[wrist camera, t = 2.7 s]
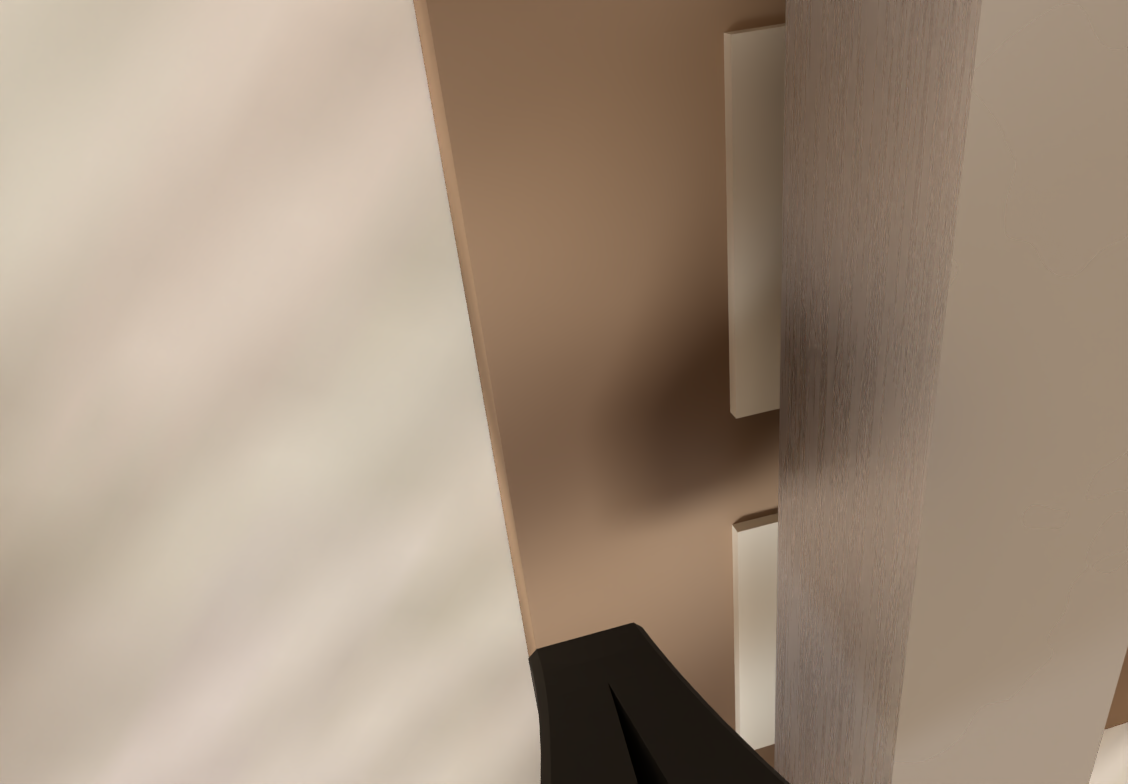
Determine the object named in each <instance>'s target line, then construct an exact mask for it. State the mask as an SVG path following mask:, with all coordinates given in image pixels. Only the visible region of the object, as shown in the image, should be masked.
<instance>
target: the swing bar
mask: <svg viewBox="0 0 1128 784" xmlns="http://www.w3.org/2000/svg"><path fill="white" fill-rule="evenodd" d="M1127 648H1128V0H786V23H785V89H784V155H783V221H782V287H781V353H780V420H779V486H778V552H777V618H776V684H775V750H774V769H775V770H776V771H777V772H778V773H779V774H780V775H781V776H782V777H783V778H785V779H786V780H787V781H788V782H789V783H790V784H1089V781H1090V777H1091V774H1092V770H1093V767H1094V763H1095V760H1096V756H1097V753H1098V749H1099V746H1100V742H1101V739H1102V735H1103V732H1104V728H1105V725H1106V721H1107V718H1108V714H1109V711H1110V707H1111V704H1112V700H1113V697H1114V693H1115V690H1116V686H1117V683H1118V679H1119V676H1120V672H1121V669H1122V665H1123V662H1124V658H1125V655H1126V651H1127Z"/></svg>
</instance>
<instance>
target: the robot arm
mask: <svg viewBox="0 0 1128 784" xmlns="http://www.w3.org/2000/svg"><path fill="white" fill-rule="evenodd" d="M528 659H529V665H530V670H531V675H532V681H533V686H534V691H535V697H536V702H537V708H538V713H539V723H540V743H541V784H790V783H789V782H788V781H787V780H786V779H785V778H783V777H782V776H781V775H780V774H779V773H778V772H777V771H776V770H775V769H774V768H773V767H772V766H771V765H769V764H768V763H767V762H766V761H765V760H764V759H763V758H762V757H761V756H760V755H759V754H758V753H757V752H756V751H755V750H754V749H753V748H752V747H751V746H750V745H749V744H748V743H747V742H746V741H745V740H744V739H743V738H742V737H741V736H740V735H739V734H738V733H737V732H736V731H735V730H734V729H732V728H731V727H730V726H729V725H728V724H727V723H726V722H725V721H724V720H723V719H722V718H721V717H720V715H719V714H718V713H717V712H716V711H715V710H714V709H713V708H712V707H711V706H710V705H709V704H708V703H707V702H706V701H705V700H704V699H703V698H702V697H701V695H700V694H699V693H698V692H697V691H696V690H695V689H694V688H693V687H692V686H691V685H690V683H689V682H688V681H687V680H686V679H685V678H684V677H683V676H682V675H681V673H680V672H679V671H678V670H677V669H676V668H675V667H674V666H673V664H672V663H671V662H670V661H669V660H668V658H667V657H666V656H665V655H664V654H663V653H662V651H661V650H660V649H659V648H658V646H657V645H656V644H655V643H654V641H653V640H652V639H651V638H650V636H649V635H648V634H647V633H646V631H645V630H644V629H643V627H641V626H639V625H637V624H636V623H634V622H633V623H629V624H625V625H622V626H618V627H615V628H611V629H607V630H604V631H600V632H596V633H593V634H589V635H585V636H582V637H578V638H575V639H571V640H567V641H564V642H560V643H556V644H553V645H549V646H545V647H542V648H538V649H536V650H535V651H534V652H533V654H532V655H531V656H530V657H529V658H528Z"/></svg>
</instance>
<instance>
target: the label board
mask: <svg viewBox="0 0 1128 784" xmlns="http://www.w3.org/2000/svg"><path fill="white" fill-rule="evenodd" d="M413 2H414V7H415V13H416V19H417V24H418V30H419V36H420V41H421V47H422V53H423V58H424V64H425V70H426V75H427V81H428V87H429V92H430V98H431V104H432V109H433V115H434V121H435V126H436V132H437V138H438V144H439V149H440V155H441V161H442V166H443V172H444V178H445V183H446V189H447V195H448V200H449V206H450V212H451V217H452V223H453V229H454V234H455V240H456V246H457V251H458V257H459V263H460V268H461V274H462V280H463V285H464V291H465V297H466V302H467V308H468V314H469V319H470V325H471V331H472V336H473V342H474V348H475V353H476V359H477V365H478V371H479V376H480V382H481V388H482V393H483V399H484V405H485V410H486V416H487V422H488V427H489V433H490V439H491V444H492V450H493V456H494V461H495V467H496V473H497V478H498V484H499V490H500V495H501V501H502V507H503V512H504V518H505V524H506V529H507V535H508V541H509V546H510V552H511V558H512V563H513V569H514V575H515V580H516V586H517V592H518V598H519V603H520V609H521V615H522V620H523V626H524V632H525V637H526V643H527V649H528V654H529V657H530V656H531V655H532V654H533V652H534V651H535V650H536V649H538V648H542V647H545V646H549V645H553V644H556V643H560V642H564V641H567V640H571V639H575V638H578V637H582V636H585V635H589V634H593V633H596V632H600V631H604V630H607V629H611V628H615V627H618V626H622V625H625V624H629V623H633V622H634V623H636V624H637V625H639V626H641V627H643V629H644V630H645V631H646V633H647V634H648V635H649V636H650V638H651V639H652V640H653V641H654V643H655V644H656V645H657V646H658V648H659V649H660V650H661V651H662V653H663V654H664V655H665V656H666V657H667V658H668V660H669V661H670V662H671V663H672V664H673V666H674V667H675V668H676V669H677V670H678V671H679V672H680V673H681V675H682V676H683V677H684V678H685V679H686V680H687V681H688V682H689V683H690V685H691V686H692V687H693V688H694V689H695V690H696V691H697V692H698V693H699V694H700V695H701V697H702V698H703V699H704V700H705V701H706V702H707V703H708V704H709V705H710V706H711V707H712V708H713V709H714V710H715V711H716V712H717V713H718V714H719V715H720V717H721V718H722V719H723V720H724V721H725V722H726V723H727V724H728V725H729V726H730V727H731V728H732V729H734V730H735V731H736V732H737V733H738V734H739V735H740V736H741V737H742V738H743V739H744V740H745V741H746V742H747V743H748V744H749V745H750V746H751V747H752V748H753V749H754V750H755V751H756V752H757V753H758V754H759V755H760V756H761V757H762V758H763V759H764V760H765V761H766V762H767V763H768V764H769V765H771V766H772V767H773V768H774V750H775V684H776V618H777V552H778V486H779V420H780V353H781V287H782V221H783V155H784V89H785V23H786V0H413ZM1126 722H1128V648H1127V651H1126V655H1125V658H1124V662H1123V665H1122V669H1121V672H1120V676H1119V679H1118V683H1117V686H1116V690H1115V693H1114V697H1113V700H1112V704H1111V707H1110V711H1109V714H1108V718H1107V721H1106V725H1105V728H1104V730H1105V729H1108V728H1111V727H1114V726H1117V725H1120V724H1123V723H1126Z"/></svg>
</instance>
